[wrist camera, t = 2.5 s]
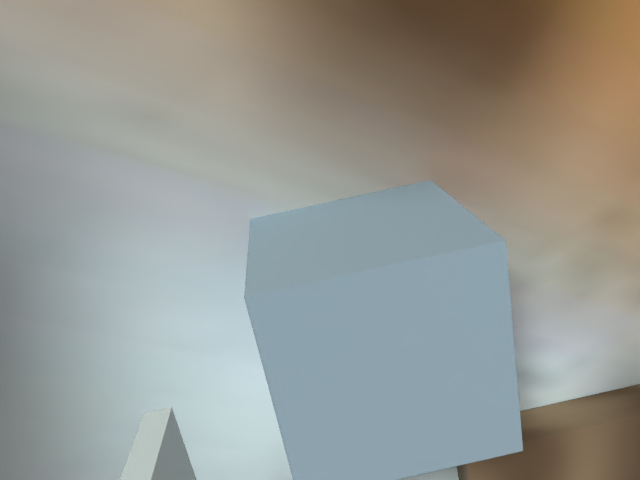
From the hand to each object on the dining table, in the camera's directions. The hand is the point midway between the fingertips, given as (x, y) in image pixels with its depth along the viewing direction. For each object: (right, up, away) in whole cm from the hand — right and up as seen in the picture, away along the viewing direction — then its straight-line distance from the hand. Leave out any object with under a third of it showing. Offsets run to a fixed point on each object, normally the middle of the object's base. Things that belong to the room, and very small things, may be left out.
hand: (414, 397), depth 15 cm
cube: (-1, +3, +7) cm, 8 cm away
